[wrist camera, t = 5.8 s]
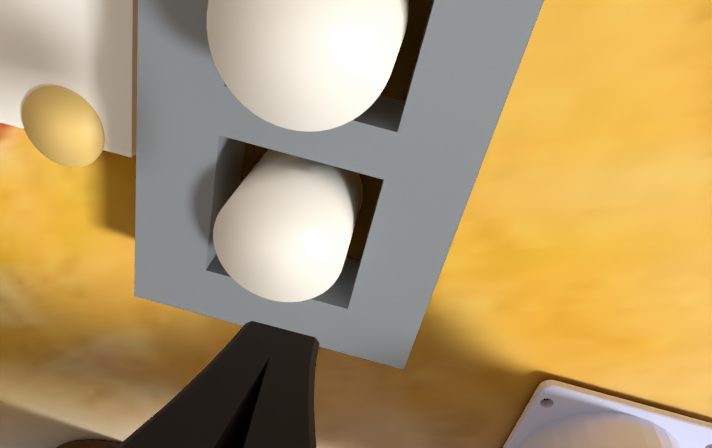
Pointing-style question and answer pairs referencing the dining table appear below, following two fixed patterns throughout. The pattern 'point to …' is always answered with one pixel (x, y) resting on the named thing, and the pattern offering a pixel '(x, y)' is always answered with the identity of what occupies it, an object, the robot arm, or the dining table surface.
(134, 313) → the dining table surface
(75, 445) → the olive oil
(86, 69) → the pattern card
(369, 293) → the board
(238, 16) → the button mid
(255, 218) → the button
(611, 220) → the dining table surface
